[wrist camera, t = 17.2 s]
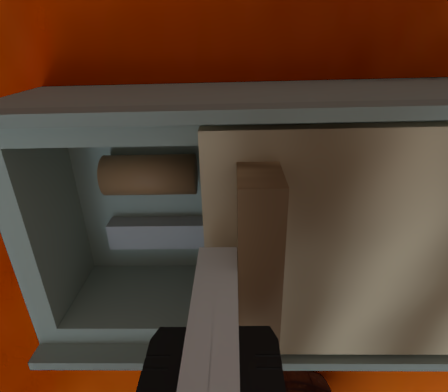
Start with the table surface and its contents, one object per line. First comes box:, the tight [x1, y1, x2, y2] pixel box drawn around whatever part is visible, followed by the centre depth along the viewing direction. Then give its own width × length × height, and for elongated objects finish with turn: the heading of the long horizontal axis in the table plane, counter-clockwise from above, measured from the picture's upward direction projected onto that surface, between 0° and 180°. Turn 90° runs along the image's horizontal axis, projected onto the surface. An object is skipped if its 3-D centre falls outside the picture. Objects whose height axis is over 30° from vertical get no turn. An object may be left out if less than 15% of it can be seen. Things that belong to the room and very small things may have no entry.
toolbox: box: [0, 77, 448, 371], centre depth 18 cm, size 22×13×8 cm, turn 91°
